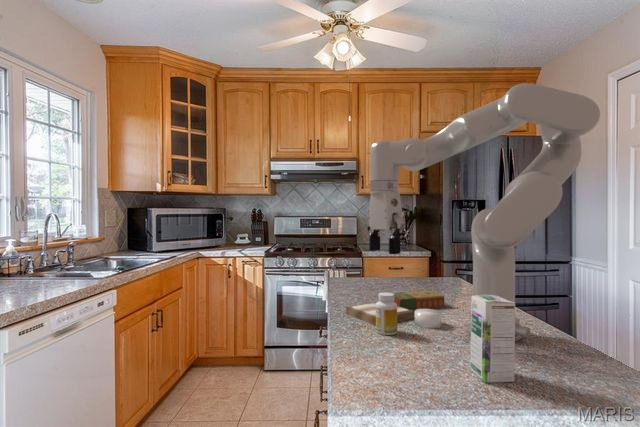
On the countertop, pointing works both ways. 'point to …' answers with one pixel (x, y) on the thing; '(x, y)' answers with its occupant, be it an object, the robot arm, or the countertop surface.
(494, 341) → the syrup box
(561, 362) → the countertop surface
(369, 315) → the tray
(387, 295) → the supplement bottle
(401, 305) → the carton
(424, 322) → the white glossy dome
